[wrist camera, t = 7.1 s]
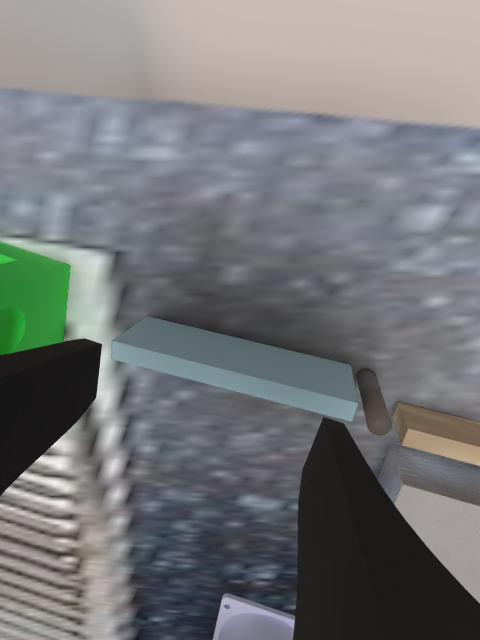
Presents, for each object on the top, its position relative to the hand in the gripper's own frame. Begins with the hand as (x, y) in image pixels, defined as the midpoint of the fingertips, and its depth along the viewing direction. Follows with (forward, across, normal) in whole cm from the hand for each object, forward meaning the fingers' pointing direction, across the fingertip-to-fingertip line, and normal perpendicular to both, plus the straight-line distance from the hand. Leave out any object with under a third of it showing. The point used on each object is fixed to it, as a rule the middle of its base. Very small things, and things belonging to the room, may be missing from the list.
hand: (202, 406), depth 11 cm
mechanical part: (+10, +14, +6) cm, 19 cm away
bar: (+10, -7, +2) cm, 12 cm away
